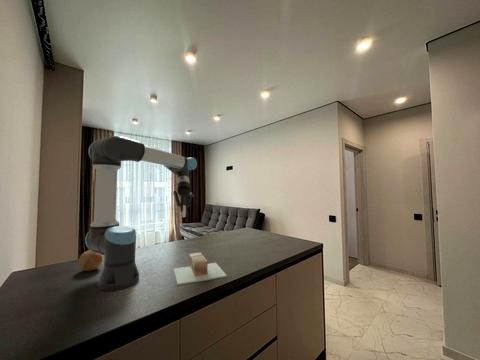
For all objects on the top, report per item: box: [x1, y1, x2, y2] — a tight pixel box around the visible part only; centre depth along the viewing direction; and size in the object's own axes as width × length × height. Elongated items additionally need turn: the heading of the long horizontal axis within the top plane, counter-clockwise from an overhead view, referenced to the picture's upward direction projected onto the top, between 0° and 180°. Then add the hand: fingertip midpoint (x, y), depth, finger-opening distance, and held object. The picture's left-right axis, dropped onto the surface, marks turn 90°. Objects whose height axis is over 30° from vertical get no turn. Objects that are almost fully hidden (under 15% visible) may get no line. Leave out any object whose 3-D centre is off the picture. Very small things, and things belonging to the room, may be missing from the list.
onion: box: [77, 249, 103, 272], centre depth 102 cm, size 10×10×10 cm
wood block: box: [188, 252, 209, 276], centre depth 101 cm, size 6×6×15 cm
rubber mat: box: [173, 262, 228, 286], centre depth 98 cm, size 18×22×1 cm
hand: (184, 216), depth 118 cm, fingers closed
